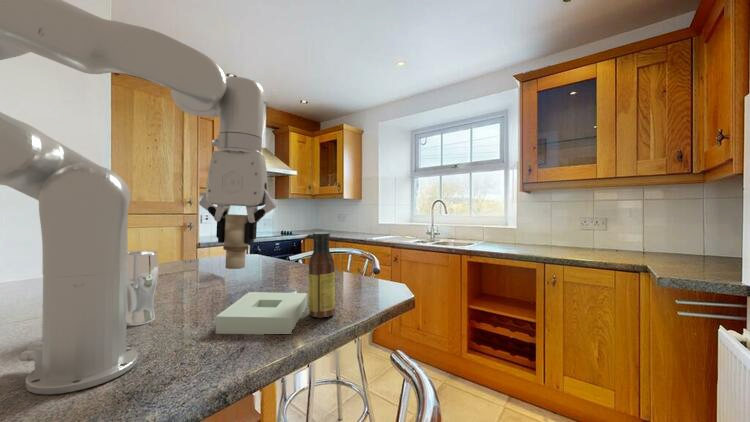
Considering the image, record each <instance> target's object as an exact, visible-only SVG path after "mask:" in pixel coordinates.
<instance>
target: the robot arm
mask: <svg viewBox="0 0 750 422" xmlns="http://www.w3.org/2000/svg"><path fill="white" fill-rule="evenodd" d="M29 53H32V54H34V55H35V54H36V55H38V56H41V57H43V58H46V59H48V60H50V61H53V62H56V63H58V64H61V65H63V66H65V67H67V68H68V67H69V68H71V69H74V70H76V71H78V72H81V73H83V74H88V75H90V74H91V75H102V74H109V73H114V74H117V73H118V74H125V75H128V76H134V77H137V78H140V79H143V80H147V81H149V82H153V83H154V84H158V85H159V86H163V87H165V88H167V89H170V94H171V98H172V100H173V102H174V104H175V105H176V106H177V108H179V109H180V110H181V111H183V112H184V113H186V114H189V115H192V116H196V117H197V116H198V117H213V118H215V117H216V118H219V126H218V127H219V128H218V129H219V131H218V133H219V134H217V138H215V139H214V138H213V139H211V145H212V147H216V148H217V149H218V150H213V152H212V156H211V159H210V164H209V168H208V173H207V179H206V187H205V194H204V195H203V197H201V199H200V200H199V202H198V204H199V206H201V207H202V208H203V209H204V210H206V211H207V212H208V213H209V214H210V215H211V217H213V219H214V221H215V222H216V232H215V233H216V235H215V237H216V238H217V243H219V244H222V243H223V244H224V236H225V215H226V214H229V212H230V209H231V206H234V207H236V206H237V207H245V209H246V215H247V216H248V223H245V236H244V243H245V244H248V245H251V244H253V243H254V242H255V240H256V239H257V230H258V223H259V222H260V220H261V219H262V218H263V217H265V215H267V214H268V213H270V212H272V211H273V210H275V209H276V208H277V205H276V203H275V202H274V200H273V199H272V197H271V196H270V194H269V192H268V190H269V189H268V173H267V172H268V170H267V165H266V157H265V155H264V154H262V149H263V147H262V146H263V142H262V141H263V126H264V125H263V123H264V103H265V101H264V100H265V99H264V97H265V92H264V88H263V87H262V85H261V84H260V83H258V82H257V81H256V80H253V79H250V78H246V77H240V76H230V77H227V78H226V75H225V72H224V70H222V68H221V66H219V64H218V63H217V62H216V61H214V60H213V59H212V58H210V57H209V56H208V55H206V54H205V53H203V52H201V51H200V50H197V49H195V48H194V47H191V46H189V45H187V44H186V43H183V42H181V41H179V40H178V39H175V38H173V37H171V36H168V35H166V34H164V33H162V32H160V31H156V30H154V29H151V28H147V27H143V26H140V25H135V24H129V23H125V22H122V21H118V20H110V19H106V18H102V17H100V16H98V15H95V14H93V13H91V12H88V11H87V10H84V9H82V8H79V6H76V5H74V4H71V3H69V2H67V1H65V0H0V61H3V60H8V59H13V58H16V57H20V56H23V55H26V54H29ZM0 185H2V186H5V187H6V186H7V187H9V188H11V189H14V190H15V191H17V192H19V193H22V194H24V195H25V196H28V197H29V198H33V199H34V200H37V201H38V214H39V223H40V231H41V232H40V233H41V243H42V246H41V247H42V248H41V249H42V326H41V328H42V329H41V330H42V332H41V334H42V337H41V338H42V339H41V341H33V342H31V343H30V344H29V345H28V346H27V348H26V350H25V351H22V352H21V353H20V354H19V355H18V359H19V361H20V362H34V369H33V370H32V371H31V372H30V373H28V375H27V376H26V377H25V379H24V380H25V381H24V382H25V389H26V390H27V391H28V392H30V393H32V394H37V395H57V394H58V395H59V394H67V393H73V392H76V391H77V392H78V391H82V390H86V389H88V388H89V389H90V388H93V387H96V386H99V385H101V384H104V383H107V382H110V381H112V380H114V379H116V378H118V377H120V376H122V375H124V374H125V373H127V372H129V371H130V370H131V369H132V368H133V367H135V365H136V364H137V363H138V359H139V355H138V354H139V353H138V351H137V350H136V349H134V348H133V347H129V346H127V326H126V322H127V252H128V223H129V222H128V216H129V207H130V204H131V199H132V198H131V197H132V196H131V195H132V194H131V191H130V190H131V189H130V188H129V186H128V184H127V182H126V181H125V180H124V179H122V177H121V176H119V174H117V173H116V172H114V171H113V170H111V169H108V168H106V167H104V166H103V165H102V166H101V165H99V164H97V163H96V162H94V161H92V160H90V159H89V158H87V157H85V156H83V155H82V154H80V153H79V152H77V151H75V150H73V149H71V148H70V147H68V146H66V145H65V144H62V143H61V142H59V141H57V140H55V139H54V138H52V137H50V136H49V135H47V134H45V133H44V132H42V131H41V130H39V129H37V128H36V127H34V126H32V125H30V124H29V123H26V122H24V121H21V120H19V119H16V118H14V117H11V116H10V115H8V114H5V113H3V112H1V111H0ZM215 205H216V206H215ZM258 207H261V208H258Z"/></svg>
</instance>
